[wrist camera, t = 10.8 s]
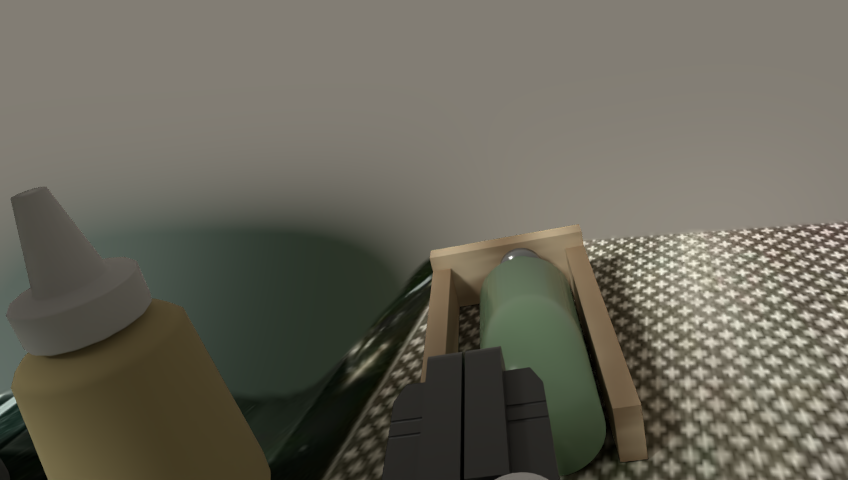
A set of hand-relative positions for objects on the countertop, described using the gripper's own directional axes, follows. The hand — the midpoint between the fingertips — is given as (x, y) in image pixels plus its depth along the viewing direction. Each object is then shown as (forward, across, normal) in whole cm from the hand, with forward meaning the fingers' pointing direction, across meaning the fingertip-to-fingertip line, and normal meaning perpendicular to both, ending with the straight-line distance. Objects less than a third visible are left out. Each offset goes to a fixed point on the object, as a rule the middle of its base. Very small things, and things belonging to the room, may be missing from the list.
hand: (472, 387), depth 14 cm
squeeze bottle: (+10, +15, +15) cm, 23 cm away
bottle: (+12, -1, +12) cm, 17 cm away
